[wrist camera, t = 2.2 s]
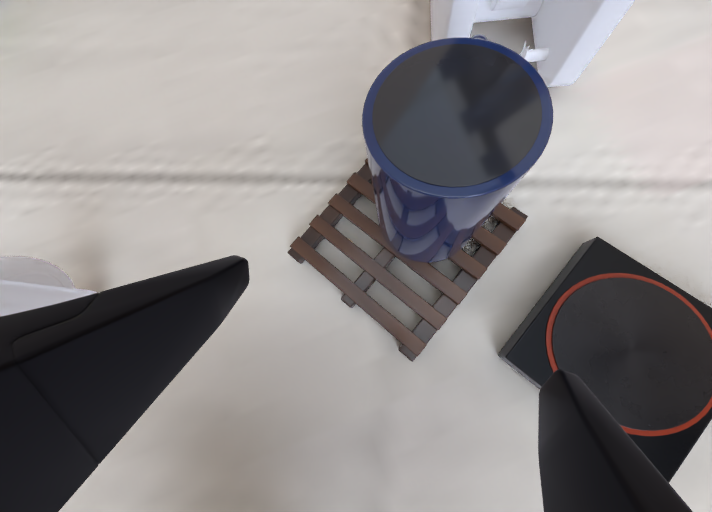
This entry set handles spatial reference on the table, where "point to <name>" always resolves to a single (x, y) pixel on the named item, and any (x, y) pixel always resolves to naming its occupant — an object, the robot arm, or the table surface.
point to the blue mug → (451, 140)
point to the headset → (33, 285)
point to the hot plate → (625, 348)
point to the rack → (376, 267)
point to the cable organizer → (539, 29)
